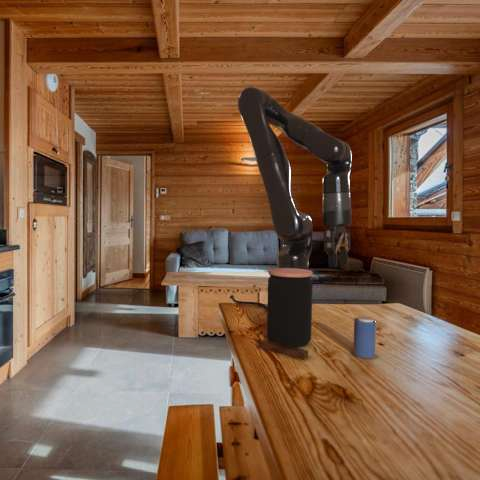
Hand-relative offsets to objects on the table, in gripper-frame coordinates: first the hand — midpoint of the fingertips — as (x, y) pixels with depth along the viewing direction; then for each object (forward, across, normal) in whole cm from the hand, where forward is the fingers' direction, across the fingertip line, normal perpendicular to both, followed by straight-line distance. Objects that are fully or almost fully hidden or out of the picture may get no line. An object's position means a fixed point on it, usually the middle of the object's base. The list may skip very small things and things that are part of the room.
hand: (338, 266), depth 111 cm
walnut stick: (+18, +31, -2) cm, 36 cm away
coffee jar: (+18, +23, -5) cm, 29 cm away
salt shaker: (+18, +20, +12) cm, 30 cm away
